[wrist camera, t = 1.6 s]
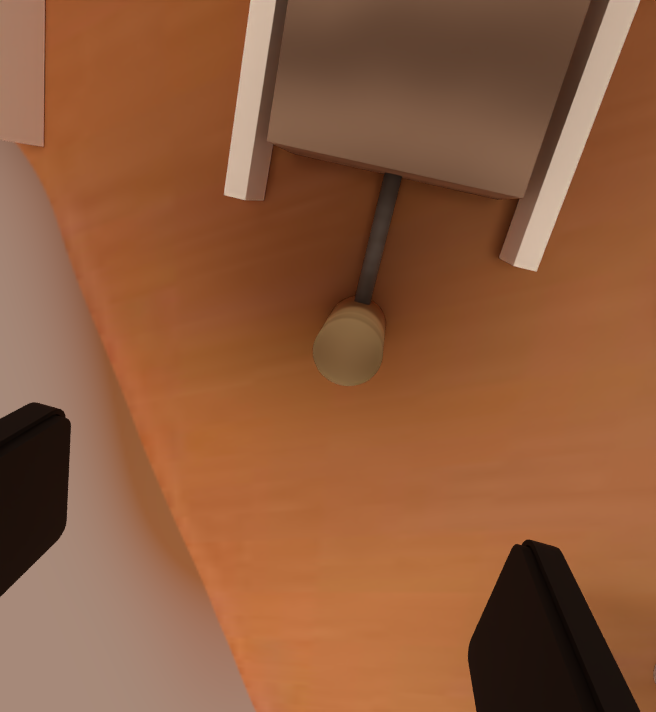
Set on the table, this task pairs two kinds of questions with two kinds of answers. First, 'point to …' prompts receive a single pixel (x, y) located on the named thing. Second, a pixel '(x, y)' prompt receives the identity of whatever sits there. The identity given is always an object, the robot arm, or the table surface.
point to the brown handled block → (416, 114)
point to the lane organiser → (256, 90)
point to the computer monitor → (654, 674)
